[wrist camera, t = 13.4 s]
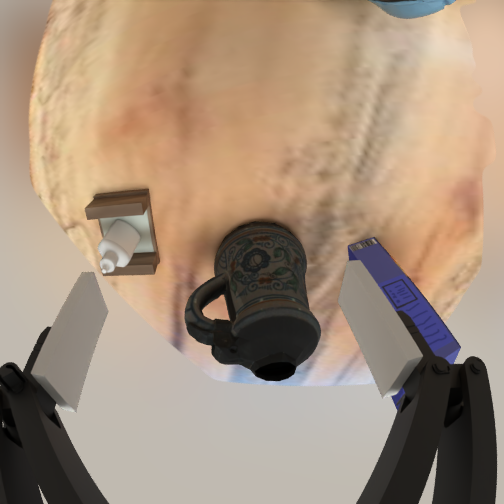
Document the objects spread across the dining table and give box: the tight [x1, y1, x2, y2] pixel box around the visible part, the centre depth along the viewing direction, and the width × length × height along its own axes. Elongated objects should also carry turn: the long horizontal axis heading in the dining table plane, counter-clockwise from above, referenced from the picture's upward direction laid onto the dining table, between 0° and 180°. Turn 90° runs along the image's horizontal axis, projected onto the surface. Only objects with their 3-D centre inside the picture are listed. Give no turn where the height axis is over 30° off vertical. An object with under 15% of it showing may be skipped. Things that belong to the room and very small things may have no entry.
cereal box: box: [348, 237, 461, 411], centre depth 46 cm, size 22×6×30 cm, turn 17°
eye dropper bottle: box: [98, 220, 140, 273], centre depth 40 cm, size 4×6×12 cm
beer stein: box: [185, 222, 321, 381], centre depth 42 cm, size 16×19×25 cm
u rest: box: [85, 189, 160, 276], centre depth 44 cm, size 14×10×5 cm
